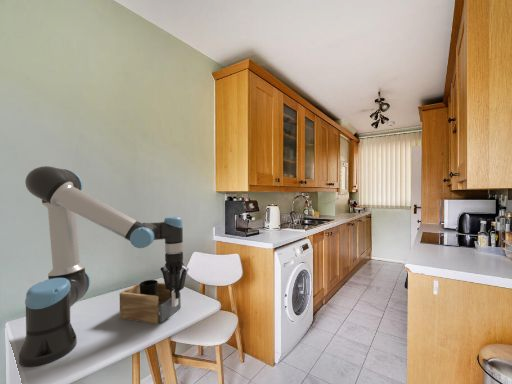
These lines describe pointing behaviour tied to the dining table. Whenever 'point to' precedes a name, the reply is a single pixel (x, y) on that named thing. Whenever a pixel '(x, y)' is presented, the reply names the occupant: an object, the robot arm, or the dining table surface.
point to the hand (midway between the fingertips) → (175, 305)
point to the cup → (149, 287)
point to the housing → (142, 304)
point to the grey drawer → (167, 309)
